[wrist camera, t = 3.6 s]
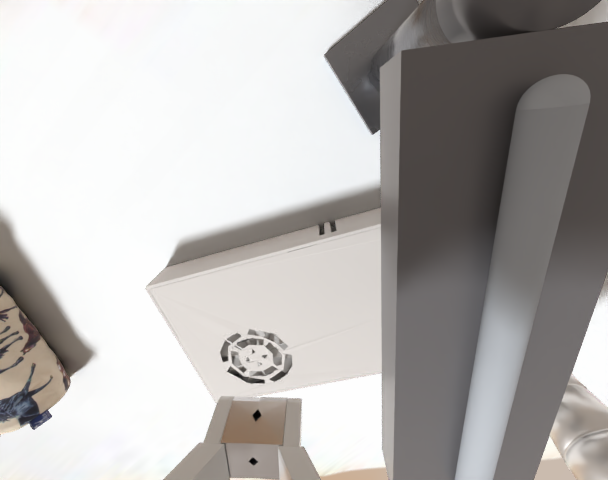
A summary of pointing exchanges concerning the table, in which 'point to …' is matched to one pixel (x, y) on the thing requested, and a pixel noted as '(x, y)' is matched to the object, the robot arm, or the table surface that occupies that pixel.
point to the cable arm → (489, 233)
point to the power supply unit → (280, 309)
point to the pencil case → (26, 371)
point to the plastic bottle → (582, 432)
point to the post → (381, 50)
